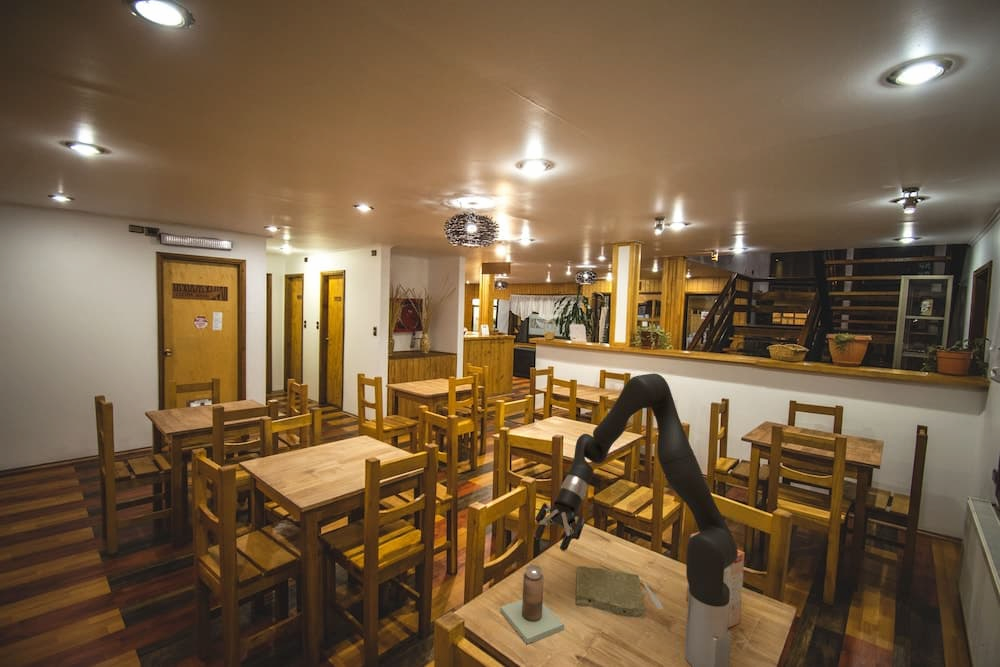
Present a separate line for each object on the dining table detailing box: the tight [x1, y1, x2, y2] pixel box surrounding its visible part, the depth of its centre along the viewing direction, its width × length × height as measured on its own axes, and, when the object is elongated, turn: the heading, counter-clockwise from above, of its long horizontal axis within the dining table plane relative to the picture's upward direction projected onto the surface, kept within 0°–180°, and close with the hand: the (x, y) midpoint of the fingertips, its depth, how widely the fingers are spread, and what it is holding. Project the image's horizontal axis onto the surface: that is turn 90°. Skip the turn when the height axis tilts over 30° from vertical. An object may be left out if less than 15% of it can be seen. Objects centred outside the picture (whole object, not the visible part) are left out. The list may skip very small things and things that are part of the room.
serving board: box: [499, 598, 565, 645], centre depth 125 cm, size 14×12×2 cm
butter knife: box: [642, 581, 664, 610], centre depth 145 cm, size 1×27×3 cm
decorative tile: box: [575, 565, 645, 619], centre depth 138 cm, size 19×20×4 cm
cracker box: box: [686, 531, 745, 629], centre depth 131 cm, size 14×6×21 cm, turn 27°
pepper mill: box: [522, 564, 545, 622], centre depth 125 cm, size 6×6×13 cm
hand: (549, 544), depth 129 cm, fingers open, 8 cm apart
